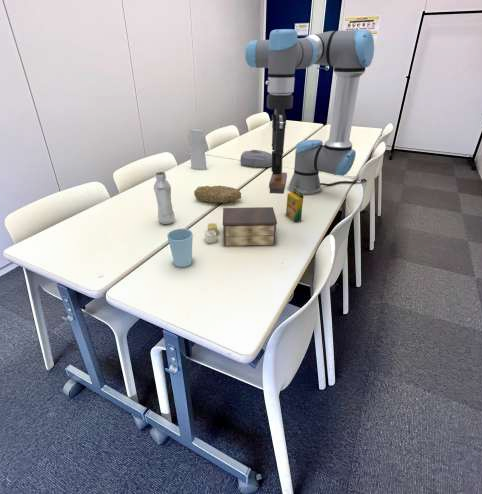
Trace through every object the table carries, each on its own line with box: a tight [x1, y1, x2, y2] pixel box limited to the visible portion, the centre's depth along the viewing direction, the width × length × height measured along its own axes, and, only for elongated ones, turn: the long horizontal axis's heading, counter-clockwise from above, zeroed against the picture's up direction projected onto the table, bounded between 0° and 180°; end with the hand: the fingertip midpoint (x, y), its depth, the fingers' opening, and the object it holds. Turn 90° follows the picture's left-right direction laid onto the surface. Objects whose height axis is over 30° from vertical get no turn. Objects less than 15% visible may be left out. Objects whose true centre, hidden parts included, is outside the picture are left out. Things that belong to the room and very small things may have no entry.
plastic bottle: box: [153, 171, 176, 225], centre depth 123 cm, size 6×7×20 cm
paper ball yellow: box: [206, 222, 218, 235], centre depth 119 cm, size 4×4×3 cm
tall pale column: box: [187, 128, 207, 171], centre depth 181 cm, size 11×4×22 cm, turn 68°
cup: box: [166, 228, 194, 268], centre depth 101 cm, size 8×8×10 cm
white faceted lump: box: [204, 230, 217, 244], centre depth 114 cm, size 4×4×3 cm
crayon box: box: [285, 188, 304, 223], centre depth 128 cm, size 7×3×12 cm, turn 23°
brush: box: [268, 153, 288, 195], centre depth 104 cm, size 5×11×13 cm, turn 169°
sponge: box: [193, 185, 242, 204], centre depth 144 cm, size 13×8×20 cm
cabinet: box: [222, 206, 278, 247], centre depth 115 cm, size 18×14×9 cm
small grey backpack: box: [239, 149, 272, 168], centre depth 191 cm, size 15×8×20 cm
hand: (276, 172), depth 105 cm, fingers closed on brush, 2 cm apart
